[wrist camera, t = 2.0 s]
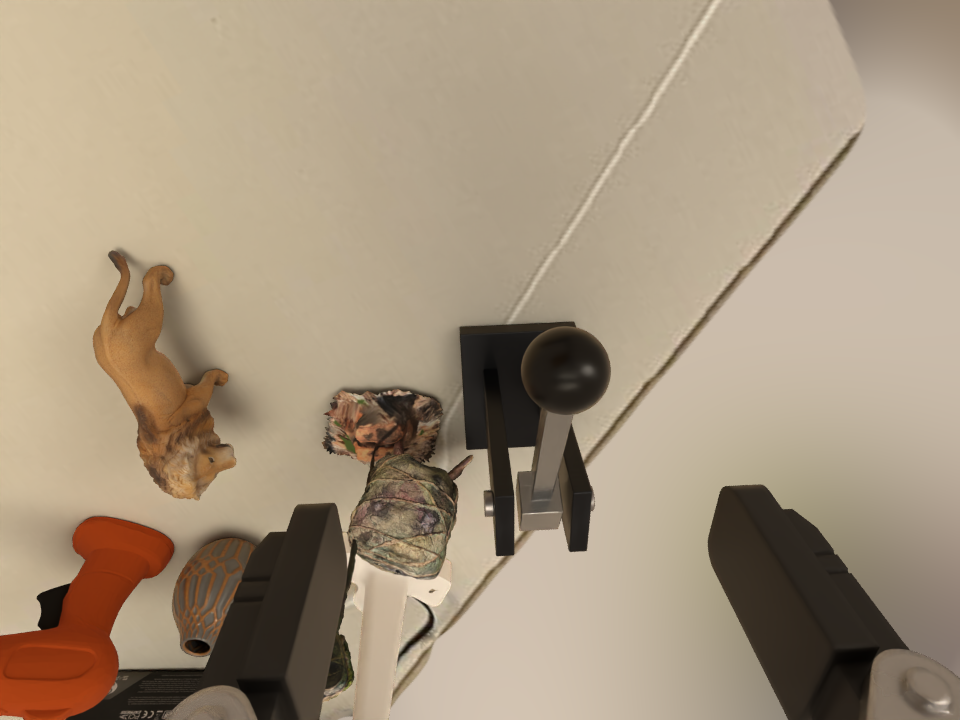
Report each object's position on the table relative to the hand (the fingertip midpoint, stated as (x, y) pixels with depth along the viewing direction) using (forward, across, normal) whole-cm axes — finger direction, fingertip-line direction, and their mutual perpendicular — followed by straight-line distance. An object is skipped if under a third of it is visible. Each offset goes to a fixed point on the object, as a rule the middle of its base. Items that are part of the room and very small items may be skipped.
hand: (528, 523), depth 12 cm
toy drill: (+27, +35, +26) cm, 51 cm away
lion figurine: (+26, +20, +9) cm, 35 cm away
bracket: (+26, -3, +13) cm, 30 cm away
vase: (+27, +22, +30) cm, 46 cm away
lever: (+13, -2, +7) cm, 15 cm away
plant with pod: (+26, +7, +17) cm, 32 cm away
